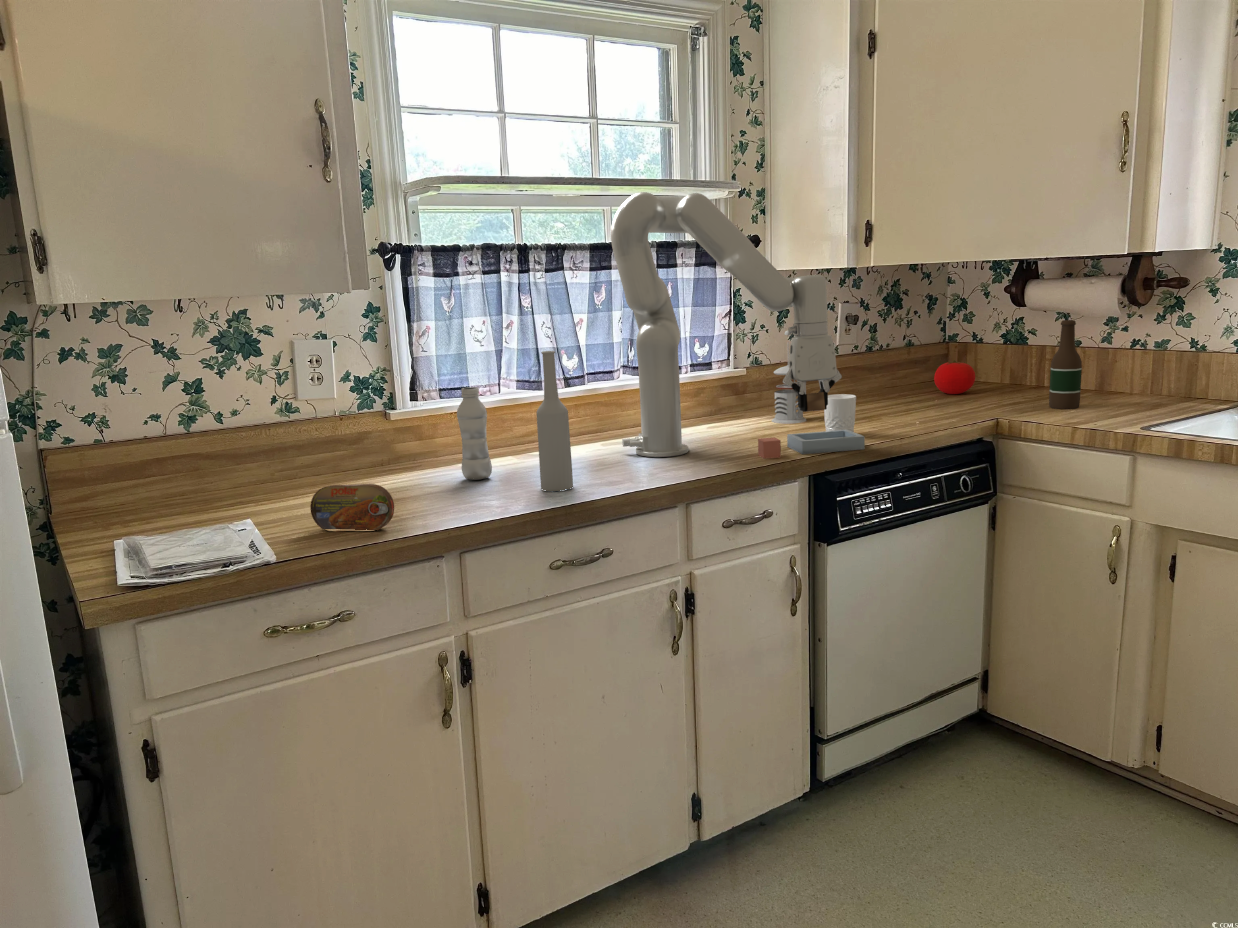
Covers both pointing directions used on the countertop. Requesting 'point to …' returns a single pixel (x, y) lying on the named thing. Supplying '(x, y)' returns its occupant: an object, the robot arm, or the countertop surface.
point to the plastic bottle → (473, 435)
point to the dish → (825, 441)
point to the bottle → (553, 433)
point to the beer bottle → (1065, 371)
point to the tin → (352, 507)
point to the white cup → (840, 412)
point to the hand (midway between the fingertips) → (813, 409)
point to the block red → (769, 448)
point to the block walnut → (815, 401)
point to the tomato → (954, 377)
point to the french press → (786, 400)
